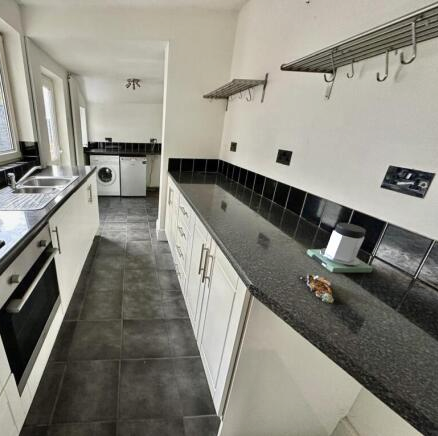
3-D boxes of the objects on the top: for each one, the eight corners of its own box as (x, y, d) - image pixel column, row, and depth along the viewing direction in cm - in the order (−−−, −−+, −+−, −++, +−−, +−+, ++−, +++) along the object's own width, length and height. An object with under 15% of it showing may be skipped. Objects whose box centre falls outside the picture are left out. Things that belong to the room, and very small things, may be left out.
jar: (346, 264, 82) (358, 233, 77) (321, 253, 89) (331, 224, 84) (358, 258, 86) (371, 229, 81) (333, 248, 93) (344, 221, 88)
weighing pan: (340, 249, 94) (341, 248, 93) (368, 266, 83) (369, 264, 82) (312, 249, 93) (313, 247, 93) (336, 266, 82) (337, 264, 81)
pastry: (318, 303, 68) (322, 293, 67) (298, 278, 79) (301, 269, 78) (344, 305, 67) (348, 296, 66) (320, 280, 78) (323, 271, 77)
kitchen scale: (340, 254, 95) (343, 249, 94) (370, 273, 83) (373, 267, 82) (305, 254, 94) (307, 249, 93) (330, 273, 82) (333, 268, 81)
